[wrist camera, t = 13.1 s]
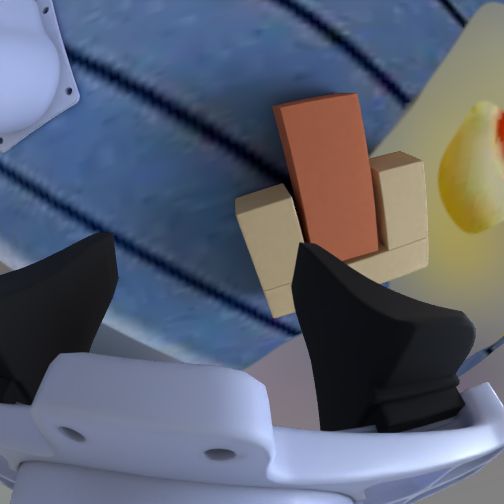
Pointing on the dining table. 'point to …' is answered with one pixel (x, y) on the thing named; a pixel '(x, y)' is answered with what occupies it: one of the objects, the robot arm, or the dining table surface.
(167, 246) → the dining table surface
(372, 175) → the u-shaped block
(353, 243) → the reddish-brown rectangular block
